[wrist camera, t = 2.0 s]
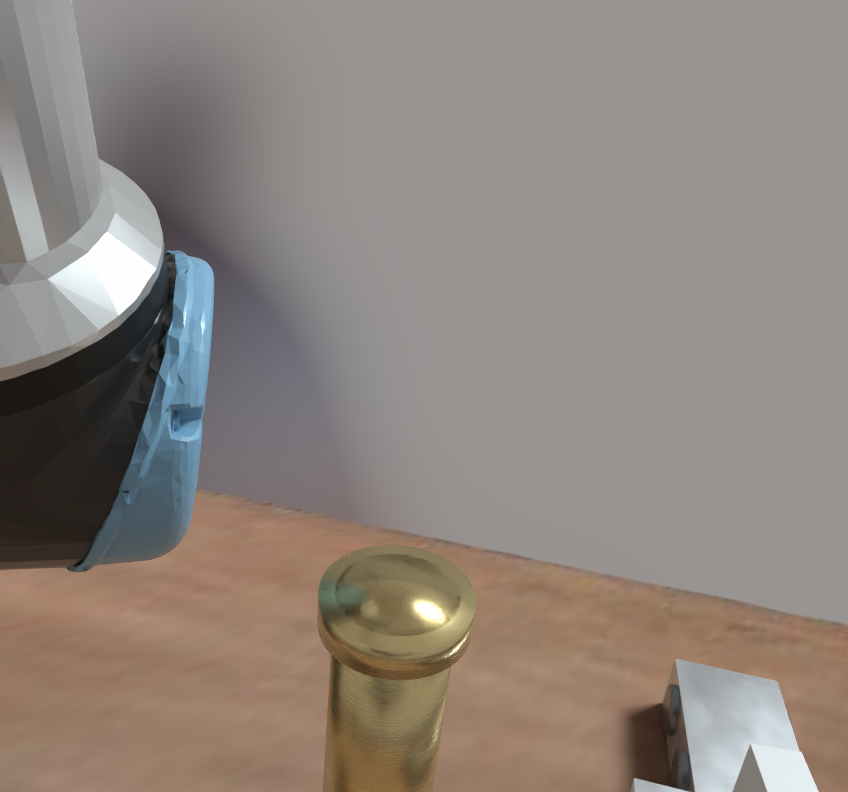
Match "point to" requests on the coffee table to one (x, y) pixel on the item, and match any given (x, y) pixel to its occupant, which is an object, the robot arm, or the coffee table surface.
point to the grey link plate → (717, 726)
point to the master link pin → (390, 664)
